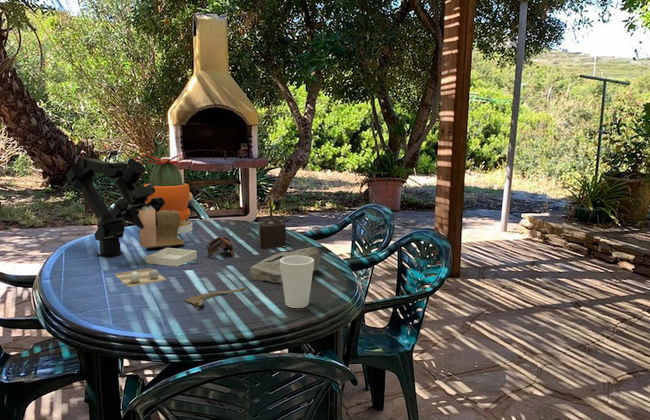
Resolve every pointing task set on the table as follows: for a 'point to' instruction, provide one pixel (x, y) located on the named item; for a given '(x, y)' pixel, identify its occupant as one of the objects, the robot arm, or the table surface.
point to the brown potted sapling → (272, 229)
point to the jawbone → (208, 296)
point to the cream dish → (171, 257)
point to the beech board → (143, 279)
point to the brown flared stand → (167, 229)
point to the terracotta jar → (147, 226)
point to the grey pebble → (153, 274)
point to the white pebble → (134, 276)
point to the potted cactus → (171, 190)
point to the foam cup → (296, 280)
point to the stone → (271, 265)
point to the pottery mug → (220, 245)
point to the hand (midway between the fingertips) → (150, 226)
